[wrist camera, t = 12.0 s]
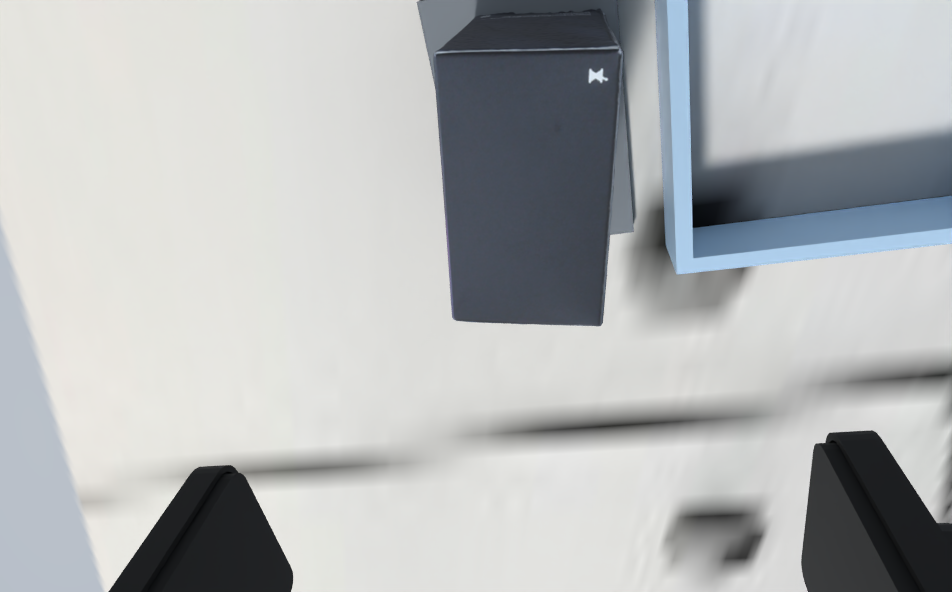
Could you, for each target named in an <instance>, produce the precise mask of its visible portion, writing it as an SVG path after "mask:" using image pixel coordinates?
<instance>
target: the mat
mask: <svg viewBox="0 0 952 592" xmlns="http://www.w3.org/2000/svg"><path fill="white" fill-rule="evenodd" d="M417 5H418V10H419V15H420V19H421V24H422V29H423V33H424V38H425V42H426V47H427V52H428V56H429V61H430V66H431V70H432V75H433V79H434V84H435V73H434V62H433V57H434V53H435V52H436V51H437V50H439V49H441V48H442V47H443V46H444V45H445V44H446V43H447V42H448V41H449V40H451V39H452V38H453V37H454V36H455V35H456V34H458V33H459V32H460V31H461V30H462V29H463V28H464V27H465V26H467V25H468V24H469V23H470V22H471V21H472V20H473V19H474V18H475V17H476V16H479V15H490V14H497V13H504V12H505V13H509V12H514V13H515V14H520V13H522V14H525V13H531V12H532V13H548V12H551V13H556V12H560V11H563V12H568V11H574V12H582V11H584V10H589V9H594V10H597V9H599V8H600V9H601V11H603V13H604V14H605V15H606V18H607V22H608V24H609V27H610V29H611V31H612V32H613V34H614V35H615V37H616V39H617V41H618V43H619V45H620V32H619V18H618V4H617V0H422V1H418V2H417ZM620 47H621V46H620ZM435 89H436V88H435ZM628 232H634V227H633V214H632V200H631V186H630V172H629V158H628V144H627V130H626V116H625V102H624V88H623V74H622V82H621V96H620V112H619V123H618V135H617V149H616V158H615V174H614V189H613V201H612V216H611V226H610V235H612V234H620V233H628Z"/></svg>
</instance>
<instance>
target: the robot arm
mask: <svg viewBox="0 0 952 592" xmlns="http://www.w3.org/2000/svg"><path fill="white" fill-rule="evenodd" d="M801 564H802V572H803V577H804V581H805V584H806V587H807V590H808V592H952V524H950V523H936V521H935V520H934V518H933V517H932V515H931V514H930V512H929V511H928V509H927V508H926V506H925V505H924V503H923V502H922V500H921V498H920V497H919V495H918V494H917V492H916V491H915V489H914V488H913V486H912V485H911V483H910V482H909V480H908V479H907V477H906V476H905V474H904V473H903V471H902V469H901V468H900V466H899V465H898V463H897V462H896V460H895V459H894V457H893V456H892V454H891V453H890V451H889V450H888V448H887V447H886V445H885V444H884V442H883V441H882V439H881V438H880V436H879V435H878V434H877V433H876V432H874V431H854V432H836V433H829V434H828V436H827V438H826V443H819V444H815V446H814V450H813V459H812V468H811V477H810V487H809V496H808V505H807V514H806V523H805V532H804V541H803V550H802V561H801ZM292 585H293V572H292V569H291V566H290V564H289V563H288V561H287V559H286V557H285V555H284V553H283V551H282V549H281V547H280V545H279V543H278V541H277V539H276V537H275V535H274V533H273V531H272V529H271V527H270V525H269V523H268V521H267V519H266V517H265V515H264V513H263V511H262V509H261V507H260V505H259V503H258V501H257V499H256V497H255V495H254V493H253V491H252V489H251V487H250V486H249V484H248V482H247V480H246V478H245V476H244V475H243V474H241V473H238V471H237V470H236V469H235V468H234V467H233V466H231V465H226V466H207V467H199V468H197V469H195V470H194V471H193V472H192V473H191V474H190V476H189V477H188V478H187V480H186V481H185V483H184V484H183V486H182V487H181V489H180V490H179V491H178V493H177V494H176V496H175V497H174V499H173V500H172V501H171V503H170V504H169V506H168V507H167V509H166V510H165V512H164V513H163V514H162V516H161V517H160V519H159V520H158V522H157V523H156V524H155V526H154V527H153V529H152V530H151V532H150V533H149V535H148V536H147V537H146V539H145V540H144V542H143V543H142V545H141V546H140V547H139V549H138V550H137V552H136V553H135V555H134V556H133V558H132V559H131V560H130V562H129V563H128V565H127V566H126V568H125V569H124V570H123V572H122V573H121V575H120V576H119V578H118V579H117V580H116V582H115V583H114V585H113V586H112V588H111V589H110V591H109V592H291V589H292Z"/></svg>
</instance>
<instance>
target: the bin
mask: <svg viewBox="0 0 952 592" xmlns="http://www.w3.org/2000/svg"><path fill="white" fill-rule="evenodd" d="M655 16H656V38H657V61H658V83H659V106H660V128H661V150H662V173H663V195H664V218H665V240H666V247H667V250H668V252H669V255H670V258H671V260H672V263H673V266H674V268H675V271H676V274H686V273H695V272H704V271H712V270H721V269H730V268H739V267H748V266H757V265H766V264H775V263H784V262H793V261H801V260H810V259H819V258H828V257H837V256H846V255H855V254H864V253H873V252H881V251H890V250H899V249H908V248H917V247H926V246H935V245H944V244H952V196H944V197H936V198H928V199H920V200H912V201H904V202H896V203H888V204H881V205H873V206H865V207H857V208H849V209H841V210H833V211H825V212H817V213H809V214H801V215H793V216H785V217H777V218H769V219H761V220H753V221H745V222H737V223H729V224H722V225H714V226H706V227H698V228H693V227H692V179H691V131H690V84H689V36H688V0H655Z"/></svg>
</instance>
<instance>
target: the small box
mask: <svg viewBox="0 0 952 592" xmlns="http://www.w3.org/2000/svg"><path fill="white" fill-rule="evenodd" d="M433 62H434V73H435V88H436V100H437V113H438V127H439V140H440V153H441V166H442V179H443V193H444V207H445V220H446V235H447V249H448V263H449V278H450V292H451V306H452V318H453V319H454V320H456V321H466V322H483V323H511V324H541V325H576V326H601V325H602V323H603V313H604V302H605V290H606V278H607V263H608V251H609V240H610V226H611V216H612V201H613V189H614V174H615V158H616V149H617V135H618V123H619V112H620V96H621V82H622V69H623V50H622V49H621V47H620V45H619V43H618V41H617V39H616V37H615V35H614V34H613V32H612V31H611V29H610V27H609V24H608V22H607V18H606V15H605V14H604V13H603V11H601V9H600V8H599V9H597V10H594V9H589V10H584V11H582V12H574V11H568V12H563V11H560V12H556V13H551V12H548V13H532V12H531V13H525V14H522V13H520V14H515V13H514V12H509V13H505V12H504V13H497V14H490V15H479V16H476V17H475V18H474V19H473V20H472V21H471V22H470V23H469V24H468V25H467V26H465V27H464V28H463V29H462V30H461V31H460V32H459V33H458V34H456V35H455V36H454V37H453V38H452V39H451V40H449V41H448V42H447V43H446V44H445V45H444V46H443V47H442V48H441V49H439V50H437V51H436V52H435V53H434V57H433Z"/></svg>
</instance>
